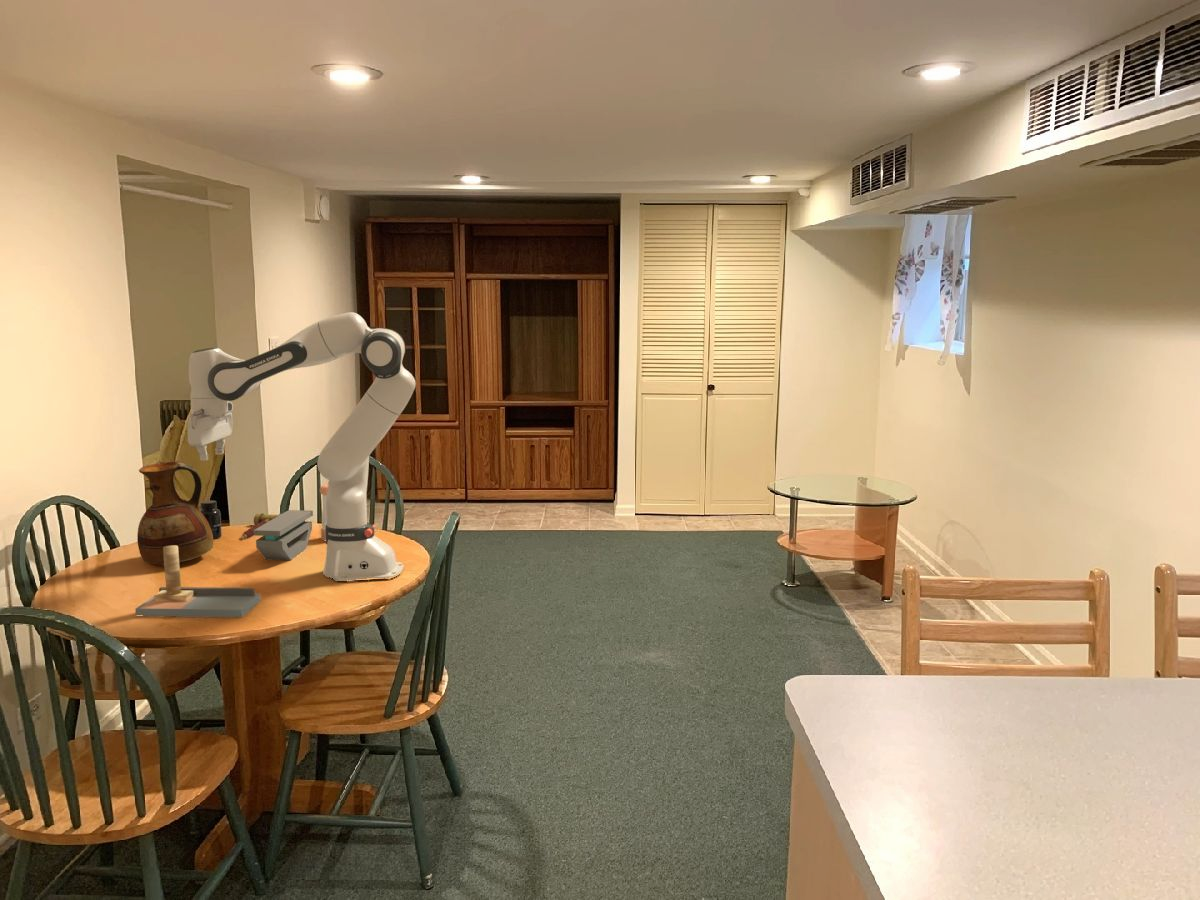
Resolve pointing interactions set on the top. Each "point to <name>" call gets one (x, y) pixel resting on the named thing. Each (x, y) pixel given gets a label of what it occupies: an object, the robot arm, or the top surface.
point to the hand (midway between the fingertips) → (212, 457)
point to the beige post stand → (172, 578)
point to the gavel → (258, 523)
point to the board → (204, 603)
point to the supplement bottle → (212, 517)
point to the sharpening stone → (284, 535)
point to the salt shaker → (324, 510)
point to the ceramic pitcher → (172, 517)
